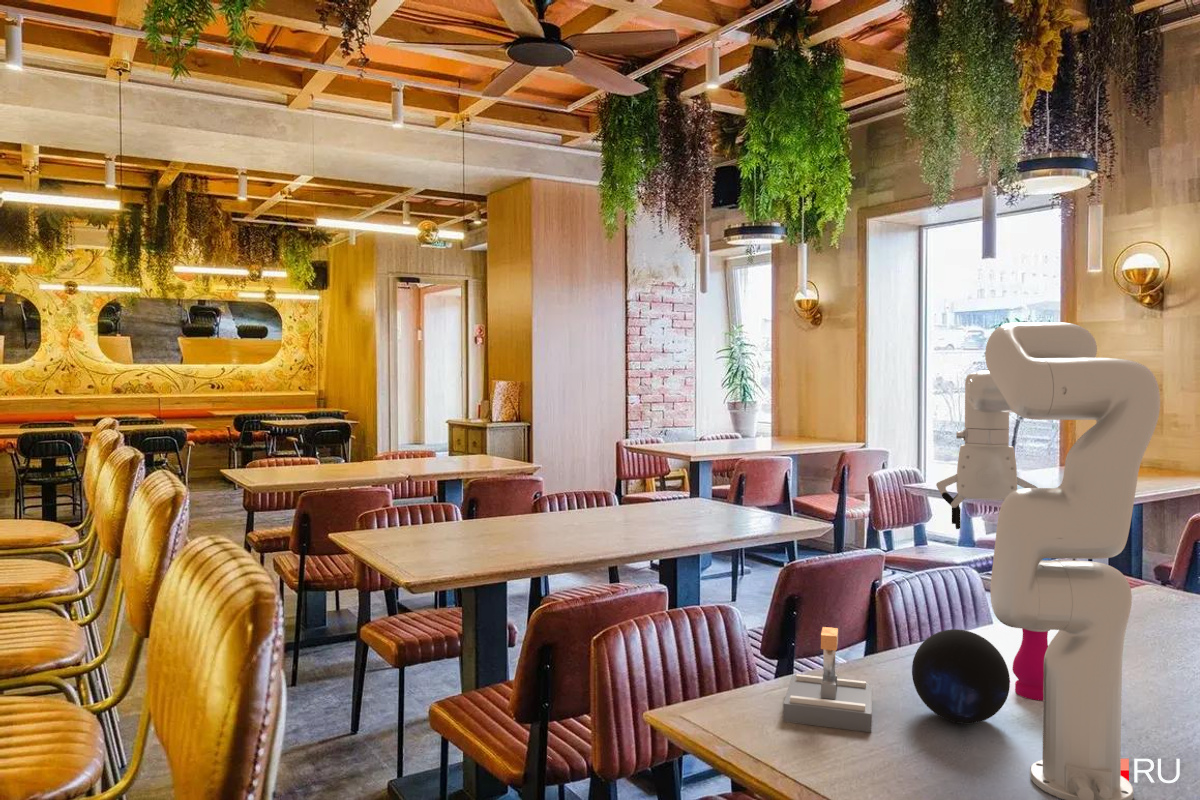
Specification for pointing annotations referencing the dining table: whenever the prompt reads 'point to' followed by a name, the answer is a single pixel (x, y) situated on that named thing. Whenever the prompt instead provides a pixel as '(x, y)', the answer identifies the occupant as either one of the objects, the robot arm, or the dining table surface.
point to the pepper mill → (1031, 664)
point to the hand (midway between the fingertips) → (985, 529)
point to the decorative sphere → (960, 676)
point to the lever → (829, 652)
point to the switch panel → (829, 703)
